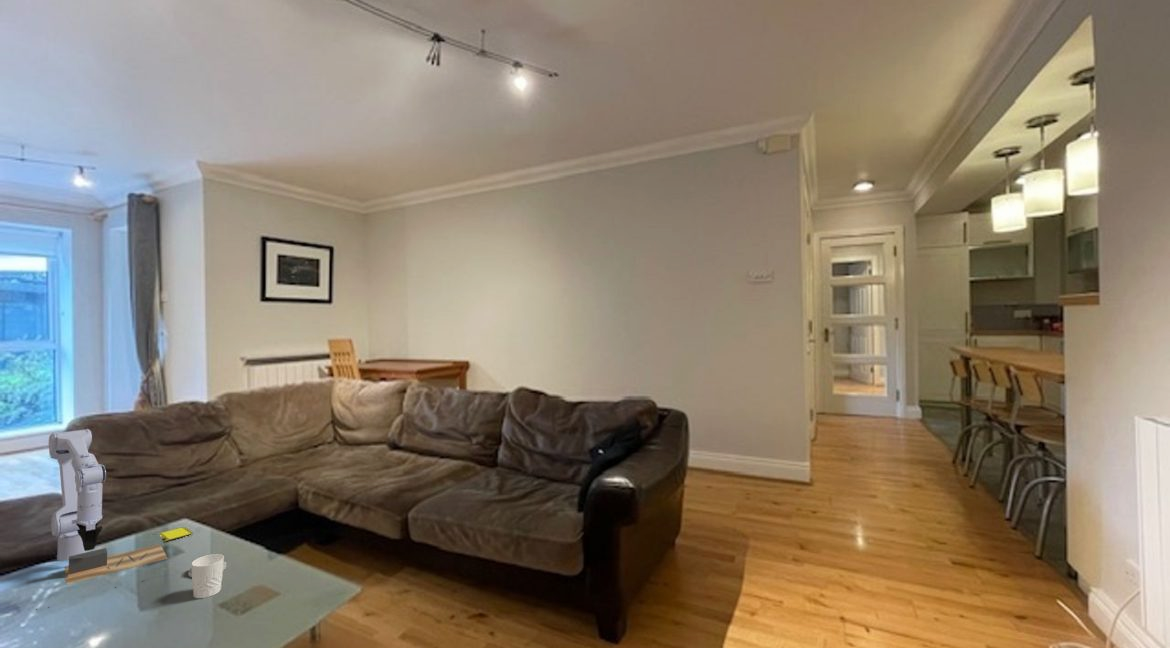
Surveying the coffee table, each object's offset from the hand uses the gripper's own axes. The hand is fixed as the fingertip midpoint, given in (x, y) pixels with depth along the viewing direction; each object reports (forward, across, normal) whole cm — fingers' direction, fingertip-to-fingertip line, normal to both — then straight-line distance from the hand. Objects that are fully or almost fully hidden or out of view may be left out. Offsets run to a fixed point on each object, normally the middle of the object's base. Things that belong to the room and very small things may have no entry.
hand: (88, 546), depth 160 cm
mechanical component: (+10, +25, +27) cm, 38 cm away
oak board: (+9, 0, +7) cm, 11 cm away
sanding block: (+8, 0, 0) cm, 8 cm away
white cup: (+9, +41, +24) cm, 48 cm away
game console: (+10, -17, +20) cm, 28 cm away
